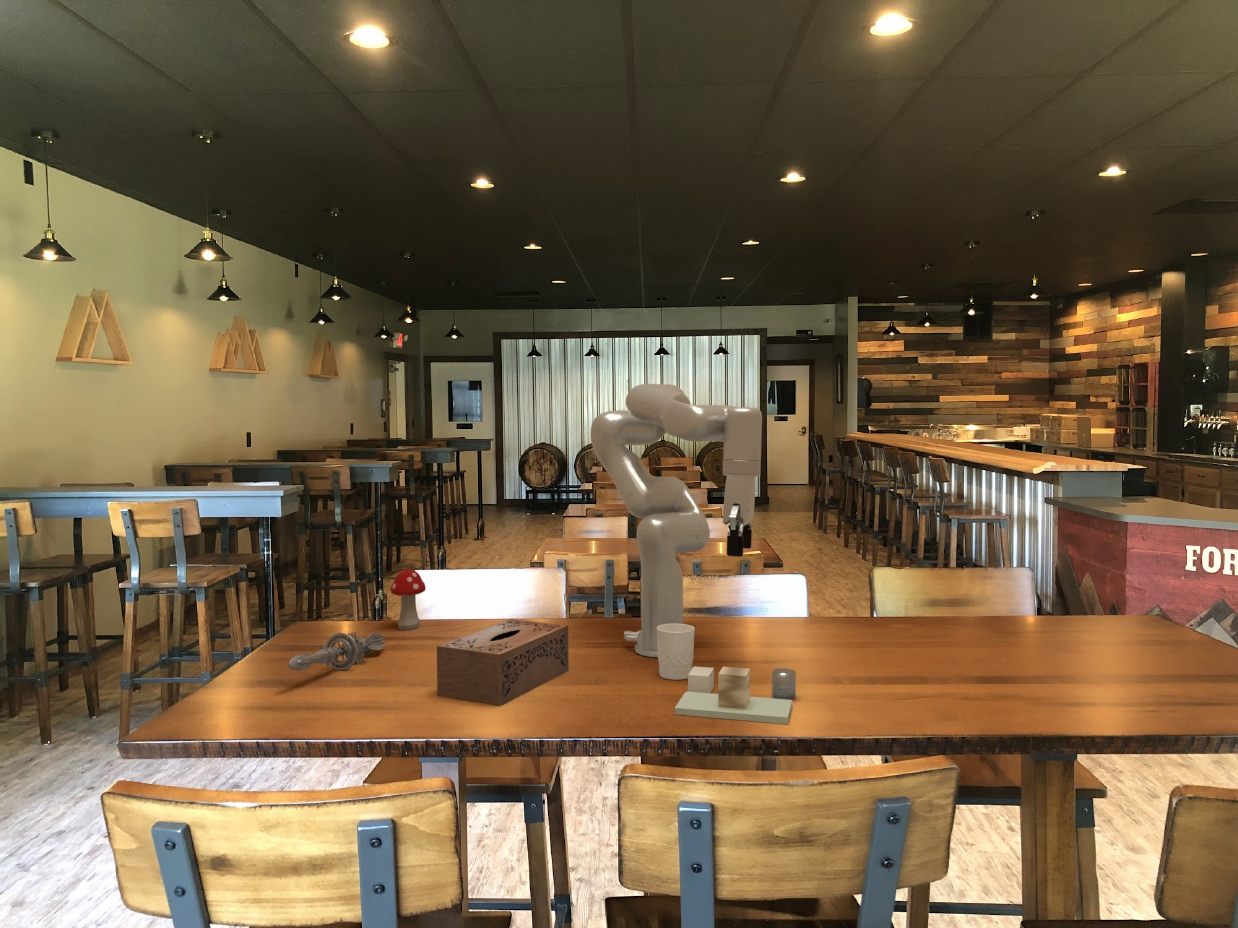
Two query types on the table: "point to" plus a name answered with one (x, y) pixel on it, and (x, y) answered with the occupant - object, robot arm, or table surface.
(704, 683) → the white block
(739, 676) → the maple block
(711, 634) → the table surface
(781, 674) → the metal cylinder
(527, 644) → the tissue box cover
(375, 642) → the spaceship
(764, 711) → the sage board
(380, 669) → the table surface
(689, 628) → the white cup
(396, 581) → the decorative mushroom
